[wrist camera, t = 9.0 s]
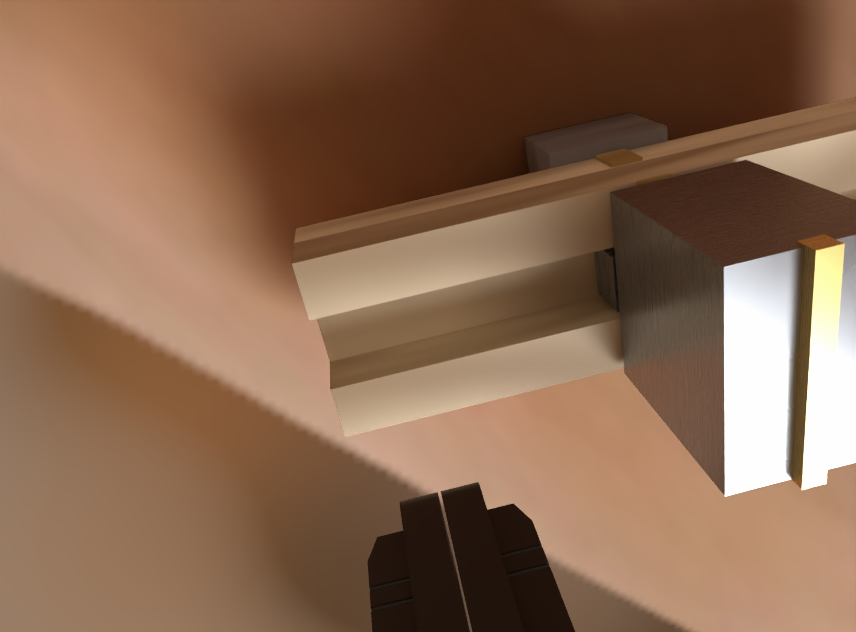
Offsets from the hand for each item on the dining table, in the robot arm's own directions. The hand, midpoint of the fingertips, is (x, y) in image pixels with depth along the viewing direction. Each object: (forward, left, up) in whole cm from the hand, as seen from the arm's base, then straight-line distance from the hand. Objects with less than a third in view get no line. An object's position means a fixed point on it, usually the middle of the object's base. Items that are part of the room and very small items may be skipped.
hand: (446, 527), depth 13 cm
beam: (0, +8, -15) cm, 17 cm away
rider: (0, +9, -10) cm, 13 cm away
